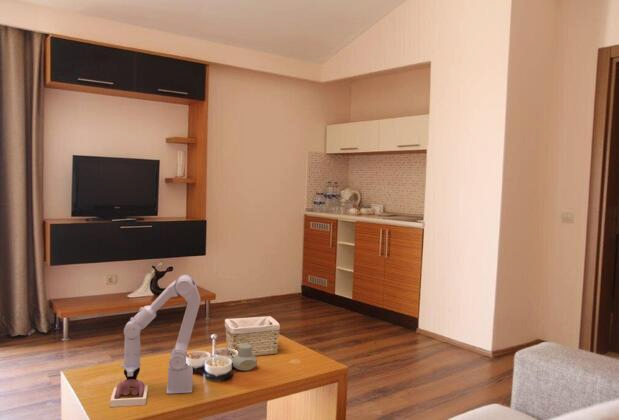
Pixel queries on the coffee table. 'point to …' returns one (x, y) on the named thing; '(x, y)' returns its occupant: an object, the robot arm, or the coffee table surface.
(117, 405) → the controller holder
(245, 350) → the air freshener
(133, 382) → the video game controller
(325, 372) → the coffee table surface
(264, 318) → the storage basket
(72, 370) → the coffee table surface
